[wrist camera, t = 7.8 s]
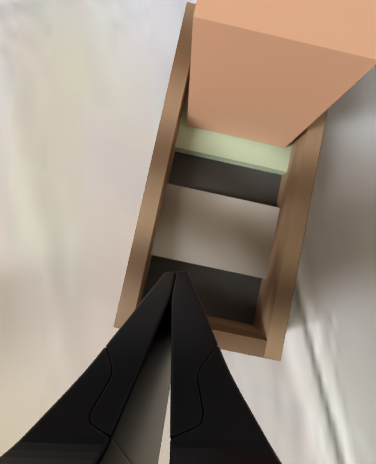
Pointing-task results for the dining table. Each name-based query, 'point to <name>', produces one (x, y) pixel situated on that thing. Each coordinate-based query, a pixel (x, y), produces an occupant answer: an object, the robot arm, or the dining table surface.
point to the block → (275, 63)
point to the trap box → (223, 220)
